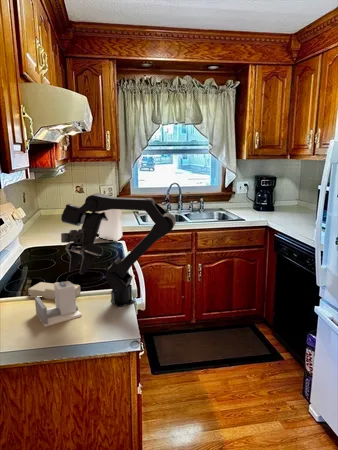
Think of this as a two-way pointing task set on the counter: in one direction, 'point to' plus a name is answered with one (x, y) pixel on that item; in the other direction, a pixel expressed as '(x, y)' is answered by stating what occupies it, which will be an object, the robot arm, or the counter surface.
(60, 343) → the counter surface
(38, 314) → the board
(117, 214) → the pale rounded upright block
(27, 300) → the counter surface
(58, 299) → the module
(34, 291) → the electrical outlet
